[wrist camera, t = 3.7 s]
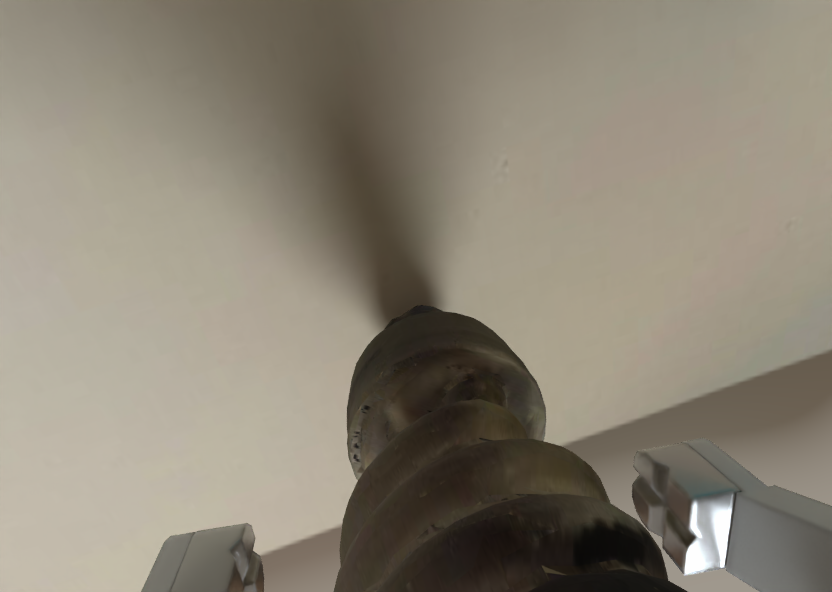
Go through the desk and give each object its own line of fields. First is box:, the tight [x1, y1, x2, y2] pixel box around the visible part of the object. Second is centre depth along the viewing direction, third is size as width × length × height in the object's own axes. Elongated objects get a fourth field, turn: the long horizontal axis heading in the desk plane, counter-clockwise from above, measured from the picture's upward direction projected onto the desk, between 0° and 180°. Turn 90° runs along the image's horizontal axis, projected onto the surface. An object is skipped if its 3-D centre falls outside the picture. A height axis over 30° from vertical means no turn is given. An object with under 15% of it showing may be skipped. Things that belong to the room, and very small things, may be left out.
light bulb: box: [334, 305, 687, 592], centre depth 12 cm, size 6×6×15 cm
